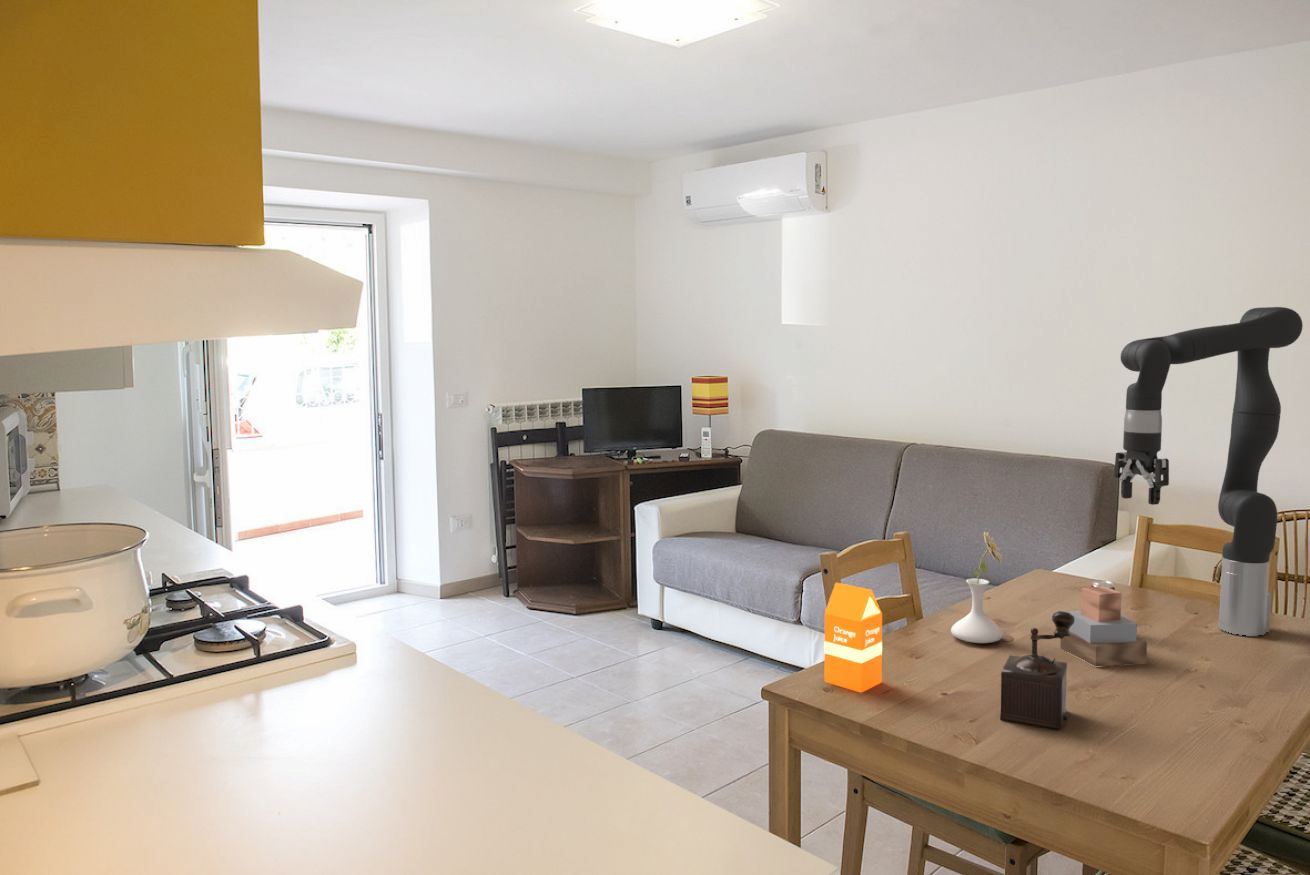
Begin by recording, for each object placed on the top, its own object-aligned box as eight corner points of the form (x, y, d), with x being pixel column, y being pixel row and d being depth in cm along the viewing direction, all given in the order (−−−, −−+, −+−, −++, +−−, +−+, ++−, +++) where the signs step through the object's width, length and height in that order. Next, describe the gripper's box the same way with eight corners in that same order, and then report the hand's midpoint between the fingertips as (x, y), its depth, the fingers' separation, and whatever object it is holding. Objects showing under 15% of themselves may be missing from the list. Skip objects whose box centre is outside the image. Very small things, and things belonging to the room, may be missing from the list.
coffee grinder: (1064, 732, 162) (1068, 633, 160) (998, 720, 167) (1001, 624, 165) (1073, 702, 175) (1076, 610, 173) (1011, 691, 181) (1014, 602, 179)
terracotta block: (1102, 612, 202) (1103, 586, 202) (1120, 619, 197) (1121, 592, 197) (1080, 614, 201) (1081, 588, 201) (1098, 622, 196) (1099, 594, 195)
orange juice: (845, 671, 193) (845, 578, 191) (882, 682, 186) (883, 586, 184) (823, 681, 187) (824, 586, 185) (860, 693, 181) (861, 594, 179)
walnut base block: (1108, 646, 207) (1109, 625, 206) (1146, 665, 195) (1147, 642, 194) (1060, 650, 205) (1061, 629, 204) (1095, 669, 193) (1096, 646, 192)
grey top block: (1111, 627, 205) (1112, 610, 204) (1136, 642, 195) (1137, 623, 194) (1067, 628, 204) (1067, 611, 204) (1090, 643, 194) (1090, 625, 194)
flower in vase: (986, 651, 204) (989, 540, 201) (941, 639, 212) (942, 533, 210) (1015, 638, 212) (1018, 532, 210) (970, 627, 221) (972, 525, 218)
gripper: (1181, 432, 199) (1178, 505, 201) (1134, 426, 213) (1131, 495, 215) (1151, 433, 198) (1148, 507, 199) (1106, 427, 212) (1103, 496, 213)
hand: (1139, 501), depth 207 cm, fingers open, 8 cm apart
